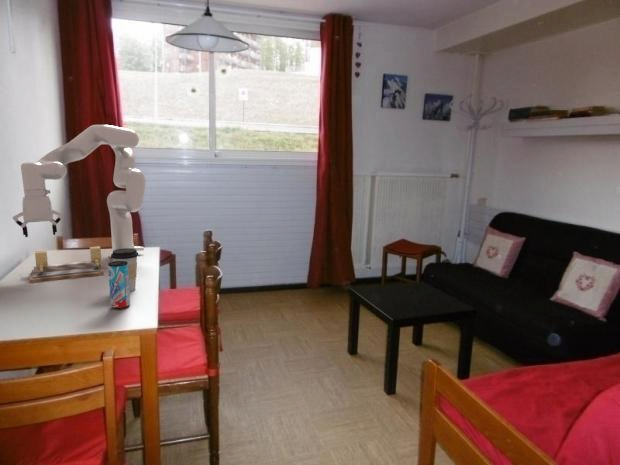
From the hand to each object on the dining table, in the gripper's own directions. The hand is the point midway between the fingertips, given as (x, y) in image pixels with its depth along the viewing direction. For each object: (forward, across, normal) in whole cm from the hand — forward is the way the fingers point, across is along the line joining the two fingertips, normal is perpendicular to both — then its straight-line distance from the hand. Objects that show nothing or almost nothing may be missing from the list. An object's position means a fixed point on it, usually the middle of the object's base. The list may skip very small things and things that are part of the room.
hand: (40, 235), depth 178 cm
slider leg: (+14, +1, +4) cm, 14 cm away
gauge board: (+16, -8, +4) cm, 19 cm away
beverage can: (+16, -23, +56) cm, 62 cm away
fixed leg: (+14, -19, +4) cm, 24 cm away
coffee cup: (+16, -27, +38) cm, 49 cm away
